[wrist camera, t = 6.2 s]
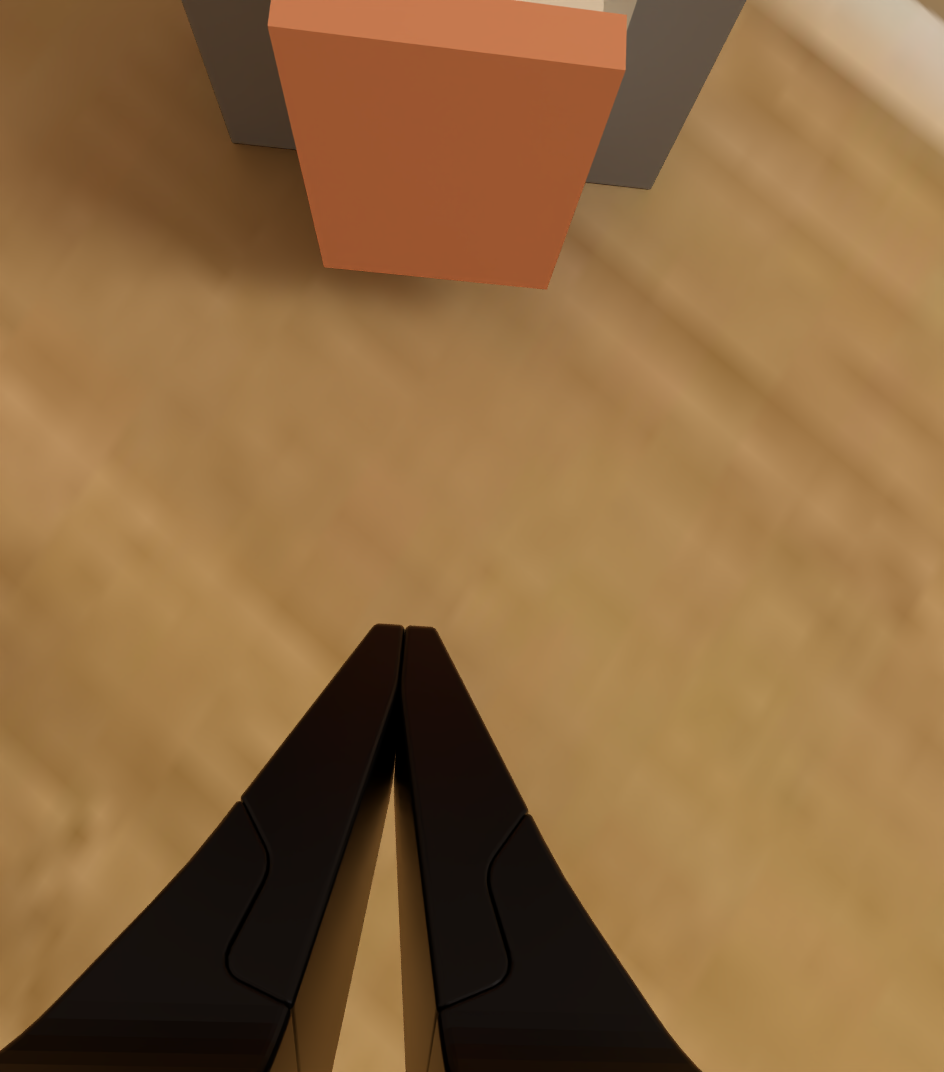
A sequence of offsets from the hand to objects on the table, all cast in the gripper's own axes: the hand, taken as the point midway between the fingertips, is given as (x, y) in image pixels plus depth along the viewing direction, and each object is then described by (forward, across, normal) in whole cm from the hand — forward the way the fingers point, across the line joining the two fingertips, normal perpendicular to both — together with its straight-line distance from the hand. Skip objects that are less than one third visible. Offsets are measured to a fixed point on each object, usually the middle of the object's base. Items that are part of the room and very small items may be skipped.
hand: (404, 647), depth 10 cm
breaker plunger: (+14, 0, -6) cm, 15 cm away
